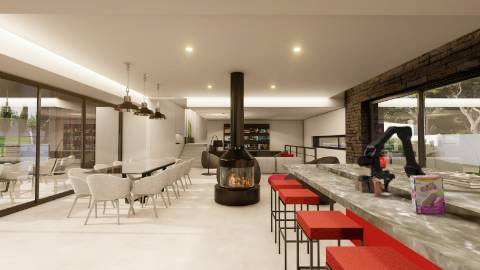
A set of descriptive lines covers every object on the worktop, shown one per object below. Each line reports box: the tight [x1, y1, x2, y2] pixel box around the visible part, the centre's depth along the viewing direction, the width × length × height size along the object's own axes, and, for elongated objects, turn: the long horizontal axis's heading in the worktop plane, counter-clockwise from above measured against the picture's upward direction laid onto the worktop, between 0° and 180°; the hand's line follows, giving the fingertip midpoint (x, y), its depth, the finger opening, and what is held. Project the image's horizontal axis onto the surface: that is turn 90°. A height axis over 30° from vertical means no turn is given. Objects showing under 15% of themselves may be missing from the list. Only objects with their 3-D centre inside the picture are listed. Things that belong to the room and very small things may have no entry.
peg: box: [374, 180, 382, 196], centre depth 151 cm, size 3×3×8 cm
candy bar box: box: [409, 174, 446, 215], centre depth 113 cm, size 11×5×16 cm, turn 74°
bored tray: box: [353, 178, 383, 193], centre depth 165 cm, size 12×12×6 cm
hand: (377, 191), depth 151 cm, fingers open, 9 cm apart
